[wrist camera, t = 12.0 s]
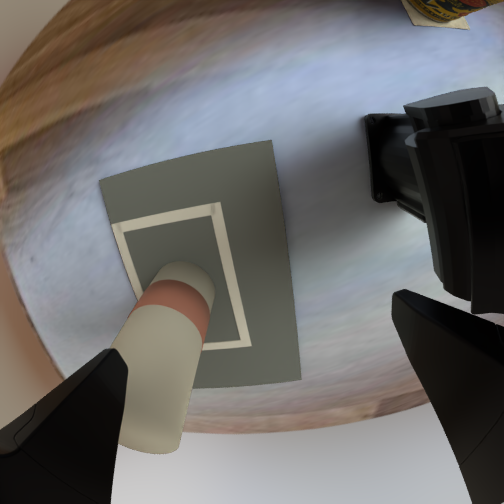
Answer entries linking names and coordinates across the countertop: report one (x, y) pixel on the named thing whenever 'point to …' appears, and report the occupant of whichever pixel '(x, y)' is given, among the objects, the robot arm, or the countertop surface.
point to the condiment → (444, 11)
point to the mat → (217, 253)
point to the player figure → (163, 356)
